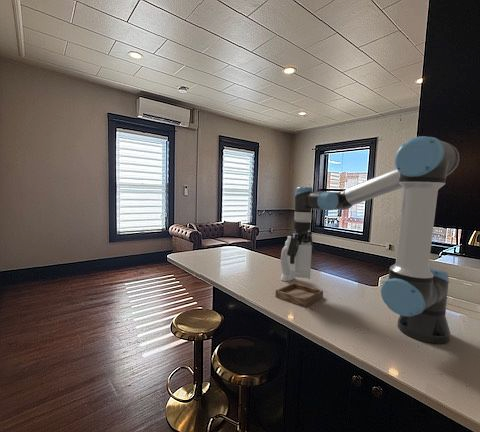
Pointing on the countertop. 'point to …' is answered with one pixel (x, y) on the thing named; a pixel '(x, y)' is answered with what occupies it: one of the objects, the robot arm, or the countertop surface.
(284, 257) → the soap bottle
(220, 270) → the countertop surface
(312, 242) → the robot arm
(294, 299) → the tray
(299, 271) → the supplement box
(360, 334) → the countertop surface
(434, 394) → the countertop surface
